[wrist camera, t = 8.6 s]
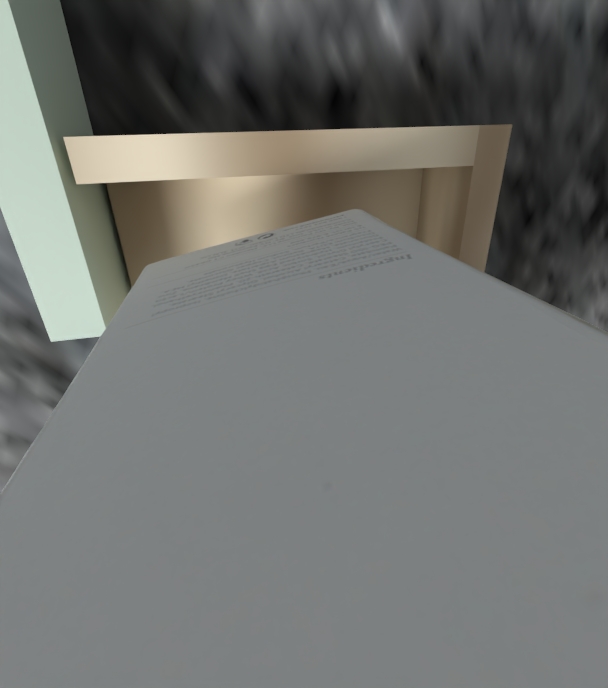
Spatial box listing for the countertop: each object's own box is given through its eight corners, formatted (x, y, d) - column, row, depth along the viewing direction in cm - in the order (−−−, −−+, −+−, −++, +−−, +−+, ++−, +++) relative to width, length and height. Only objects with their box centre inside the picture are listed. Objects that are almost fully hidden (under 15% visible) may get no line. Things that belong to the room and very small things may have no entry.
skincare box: (128, 267, 10) (-802, 1489, 1) (359, 204, 11) (1327, 553, 1) (244, 517, 15) (287, 1089, 6) (396, 466, 16) (657, 920, 6)
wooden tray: (439, 131, 14) (512, 124, 11) (401, 457, 21) (437, 517, 18) (103, 141, 12) (58, 137, 9) (189, 495, 19) (182, 570, 16)
